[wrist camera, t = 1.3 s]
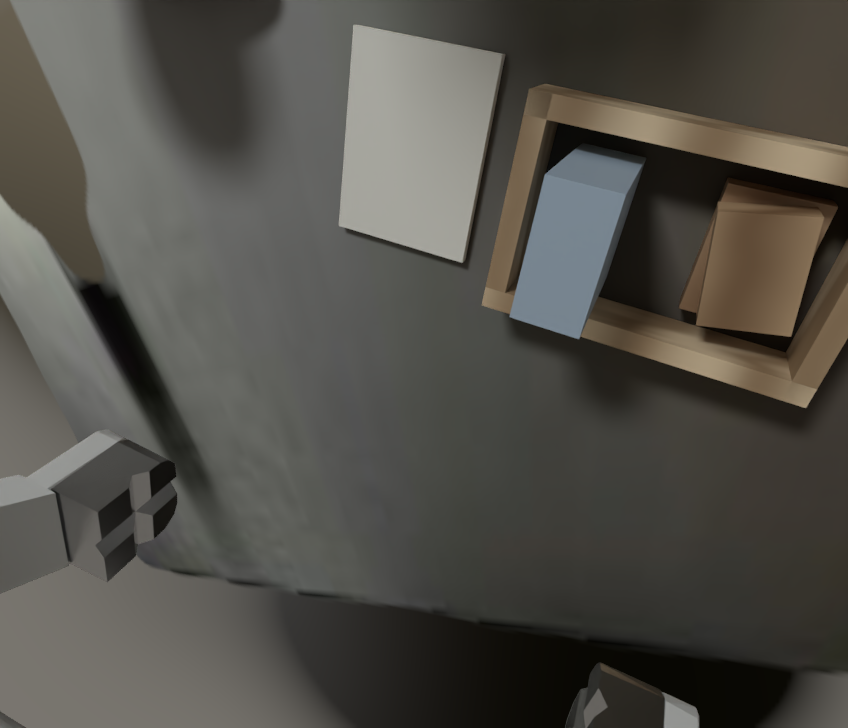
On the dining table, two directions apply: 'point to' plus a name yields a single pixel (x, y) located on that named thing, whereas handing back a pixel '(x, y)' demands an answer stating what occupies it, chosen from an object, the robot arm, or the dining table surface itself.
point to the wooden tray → (655, 334)
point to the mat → (416, 139)
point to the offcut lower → (756, 195)
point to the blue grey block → (575, 237)
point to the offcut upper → (758, 266)
